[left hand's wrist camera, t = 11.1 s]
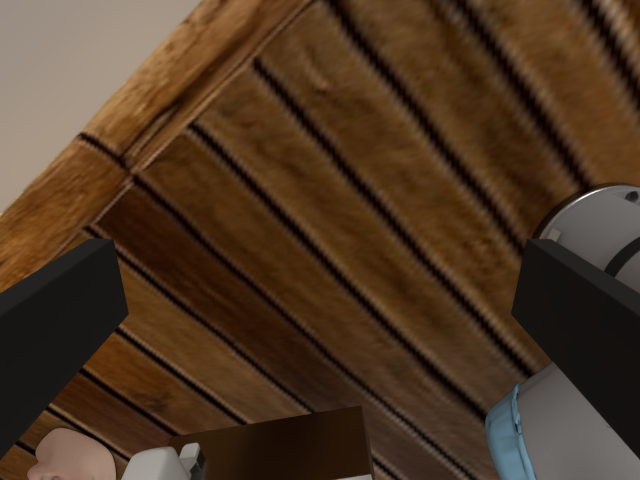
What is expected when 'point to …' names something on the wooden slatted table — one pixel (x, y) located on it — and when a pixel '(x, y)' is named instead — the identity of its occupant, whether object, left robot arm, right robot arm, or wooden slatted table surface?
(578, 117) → the wooden slatted table surface
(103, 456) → the anatomical model
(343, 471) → the bar
